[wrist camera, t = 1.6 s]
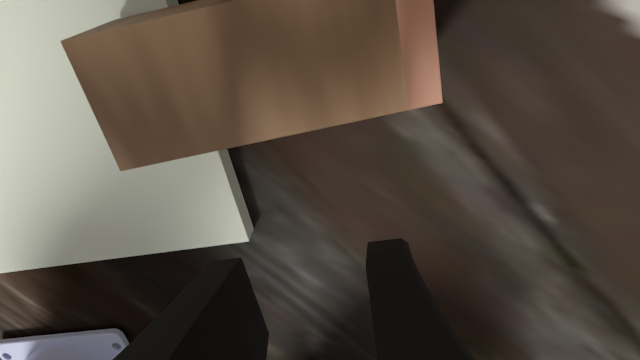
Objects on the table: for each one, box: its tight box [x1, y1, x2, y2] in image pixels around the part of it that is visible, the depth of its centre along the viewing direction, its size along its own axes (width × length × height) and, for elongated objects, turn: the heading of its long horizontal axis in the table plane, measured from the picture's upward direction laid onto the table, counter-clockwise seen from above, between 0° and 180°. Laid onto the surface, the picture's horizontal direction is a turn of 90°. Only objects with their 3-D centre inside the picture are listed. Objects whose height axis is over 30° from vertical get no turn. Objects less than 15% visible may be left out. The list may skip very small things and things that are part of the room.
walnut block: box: [60, 0, 443, 171], centre depth 15 cm, size 4×4×10 cm
